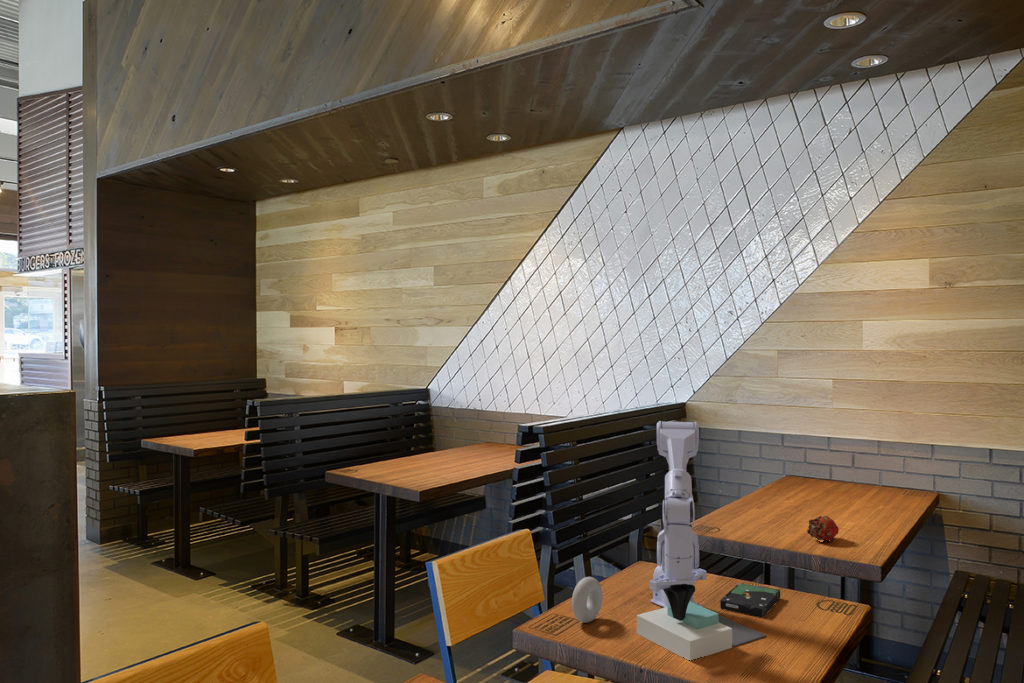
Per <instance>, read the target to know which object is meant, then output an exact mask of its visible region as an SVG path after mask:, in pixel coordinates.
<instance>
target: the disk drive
mask: <svg viewBox="0 0 1024 683" xmlns="http://www.w3.org/2000/svg"><path fill="white" fill-rule="evenodd" d="M779 598H780V599H781V590H780V589H778V588H772V587H765V586H763V585H759V586H757V585H752V584H747V583H746V584H745V583H744V582H740V583H738V584H736V585H734V587H732V588H731V589H730V590H729V591H728V592H727V593H726V594H725V595H724V596H723V597H722V598H721V599H720V601H719V602H720V604H719V605H720V606H719V608H721V609H720V610H724V609H726V610H725V611H728V610H731V611H730V612H733V611H735V613H738V612H740V613H739V614H742V613H744V615H747V614H748V615H747V616H752V615H753V616H752V617H757V616H759V617H758V618H761V617H764V616H765V615H766V614H767V615H768V613H769V612H770V611H771V610H772V609H773V608H774V606H775V605H776V604H777V603H778V602H779V601H778V599H779ZM777 601H778V602H777ZM776 602H777V603H776ZM775 603H776V604H775ZM774 604H775V605H774ZM773 605H774V606H773ZM772 607H773V608H772ZM771 608H772V609H771ZM770 609H771V610H770ZM769 610H770V611H769ZM768 611H769V612H768ZM767 612H768V613H767ZM767 615H766V616H767ZM766 616H765V617H766ZM765 617H764V618H765Z"/></svg>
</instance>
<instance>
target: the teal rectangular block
mask: <svg viewBox="0 0 1024 683" xmlns="http://www.w3.org/2000/svg"><path fill="white" fill-rule="evenodd" d="M667 609H668V616H670V617H673V614H672V610H671V606H670V605H669V606H667ZM718 615H719V613H717V612H715V611H713V610H711V609H708V608H705V606H702V605H701V606H699V605H697V604H694V603H692V602H690V601H689V604H688V607H687V610H686V614H685V618H684V620H681V622H683V623H685V624H687V625H690V626H692V627H694V628H696V629H701V628H704V627H707V626H711V625H714V624H718Z"/></svg>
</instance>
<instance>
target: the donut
mask: <svg viewBox="0 0 1024 683" xmlns="http://www.w3.org/2000/svg"><path fill="white" fill-rule="evenodd" d="M603 596H604V595H603V588H602V586H601V584H600V582H599V581H598V580H597V578H594V577H592V576H585V577H583V578H581V579H580V580H579V581H578V582H577V583H576V585H575V587H574V590H573V592H572V597H571V610H572V613H573V615H574V617H575V618H576V620H577V621H578V622H581V623H590V622H592V621H593V620H595V619H596V618H597V616H598V615H599V613H600V611H601V608H602V605H603V599H604V598H603Z"/></svg>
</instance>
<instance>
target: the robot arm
mask: <svg viewBox="0 0 1024 683" xmlns="http://www.w3.org/2000/svg"><path fill="white" fill-rule="evenodd" d="M699 427H700V426H699V423H698V422H697V421H661V420H659V421H658V422H657V423H656V446H657V451H658V455H660V456H662V457H664V458H665V459H666V461H667V464H668V472H666V474H665V475H664V499H662V523H663V529H662V530H661V531H659V533H658V534H657V542H656V563H657V566H656V568H655V569H654V571H653V576H652V579H650V580H649V590H650V591H652V599H651V598H650V603H652V604H653V603H654V604H655V605H658V606H660V607H662V608H665V607H667V606H669V605H670V606H671V610H672V614H673V618H675V619H677V620H679V621H681V620H684V618H685V614H686V610H687V607H688V604H689V601H690V602H692V603H694V604H697V605H699V606H701V607H702V604H700V603H698V602H696V601H694V594H695V592H696V586H695V585H694V584H696V583H695V582H698V581H700V580H701V581H705V580H707V579H708V578H707V577H708V575H707V574H708V573H707V570H705V569H702V568H699V567H700V545H699V536H698V535H697V533H696V532H694V531H693V526H694V525H695V521H696V519H695V516H696V515H695V513H696V512H695V502H694V496H693V490H692V489H693V488H692V486H693V485H692V476H691V475H690V473H689V472H687V465H688V462H689V459H690V458H693V457H696V456H697V453H698V451H699V444H700V443H699V442H700V430H699ZM691 520H692V521H691ZM691 523H692V524H691Z"/></svg>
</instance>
